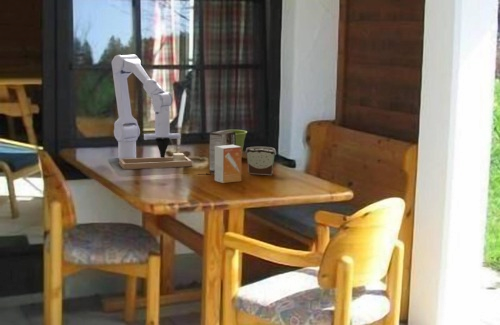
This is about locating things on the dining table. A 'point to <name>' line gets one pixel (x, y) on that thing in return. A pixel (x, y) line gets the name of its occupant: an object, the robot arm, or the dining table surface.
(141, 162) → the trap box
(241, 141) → the plant pot
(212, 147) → the coffee box
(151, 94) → the robot arm
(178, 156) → the birch cube
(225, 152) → the small box
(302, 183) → the dining table surface
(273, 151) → the food container
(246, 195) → the dining table surface
